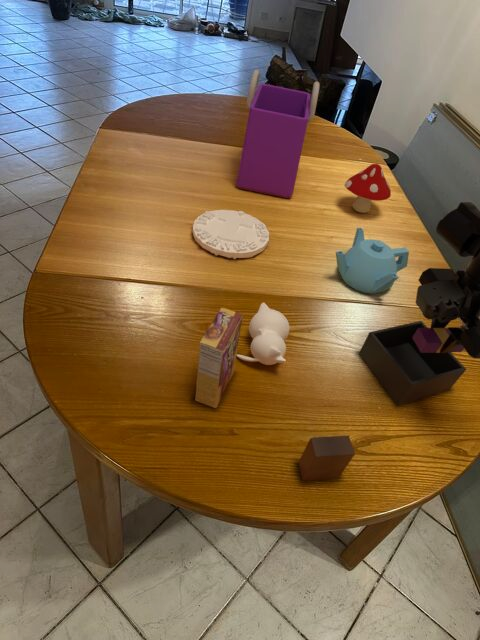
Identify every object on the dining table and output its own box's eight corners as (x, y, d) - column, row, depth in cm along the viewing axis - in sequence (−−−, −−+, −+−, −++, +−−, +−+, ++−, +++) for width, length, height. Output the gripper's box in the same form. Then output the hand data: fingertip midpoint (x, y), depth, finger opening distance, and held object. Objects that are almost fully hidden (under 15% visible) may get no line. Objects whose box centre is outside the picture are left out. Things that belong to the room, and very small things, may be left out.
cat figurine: (280, 341, 72) (280, 294, 81) (224, 354, 76) (230, 308, 84) (296, 370, 78) (295, 323, 86) (244, 381, 81) (248, 335, 90)
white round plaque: (281, 238, 113) (283, 228, 111) (240, 270, 100) (242, 261, 98) (221, 209, 119) (222, 199, 117) (176, 236, 107) (176, 226, 105)
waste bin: (449, 389, 83) (466, 369, 78) (397, 406, 78) (411, 385, 73) (408, 341, 91) (421, 320, 86) (358, 353, 86) (369, 332, 82)
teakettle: (382, 308, 98) (400, 272, 90) (324, 280, 102) (337, 243, 95) (400, 278, 108) (419, 243, 100) (347, 253, 112) (361, 218, 105)
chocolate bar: (451, 337, 76) (458, 327, 75) (461, 352, 74) (468, 342, 72) (411, 337, 75) (418, 327, 73) (420, 353, 72) (427, 343, 71)
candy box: (212, 364, 79) (221, 305, 68) (233, 372, 78) (246, 314, 67) (192, 400, 72) (198, 341, 62) (215, 410, 72) (225, 351, 61)
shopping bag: (306, 201, 130) (335, 97, 109) (236, 194, 127) (252, 86, 106) (293, 162, 150) (315, 67, 129) (233, 155, 147) (245, 57, 126)
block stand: (333, 460, 68) (348, 435, 62) (338, 478, 66) (355, 454, 60) (297, 463, 67) (310, 437, 61) (302, 481, 65) (316, 456, 59)
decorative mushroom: (339, 218, 125) (356, 170, 115) (334, 196, 135) (349, 150, 125) (385, 225, 126) (405, 178, 116) (377, 203, 136) (395, 158, 126)
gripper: (411, 238, 68) (376, 307, 79) (471, 318, 55) (419, 388, 66) (470, 240, 71) (428, 308, 81) (541, 318, 58) (480, 386, 68)
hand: (437, 344), depth 74 cm, fingers closed on chocolate bar, 4 cm apart
